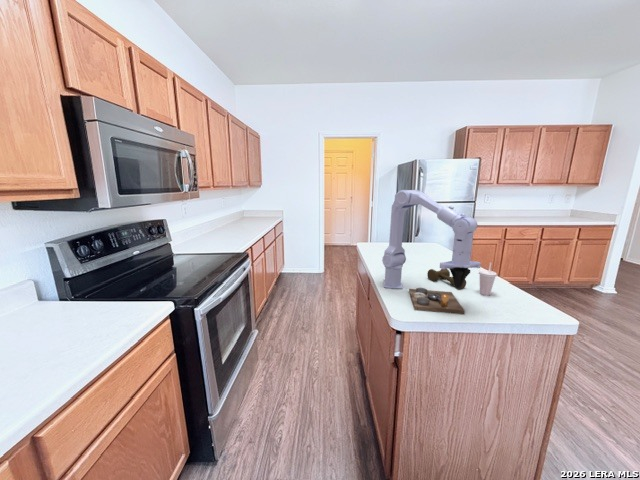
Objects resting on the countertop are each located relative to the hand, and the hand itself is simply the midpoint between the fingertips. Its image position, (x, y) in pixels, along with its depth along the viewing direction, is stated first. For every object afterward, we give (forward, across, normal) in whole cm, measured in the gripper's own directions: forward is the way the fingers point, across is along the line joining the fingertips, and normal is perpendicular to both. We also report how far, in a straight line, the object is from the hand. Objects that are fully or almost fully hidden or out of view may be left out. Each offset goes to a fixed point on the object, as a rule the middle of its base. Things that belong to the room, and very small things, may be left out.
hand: (457, 286), depth 96 cm
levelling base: (+9, -5, +6) cm, 12 cm away
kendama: (+9, +12, +27) cm, 31 cm away
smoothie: (+9, +21, +12) cm, 26 cm away
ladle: (+7, -5, +4) cm, 9 cm away
